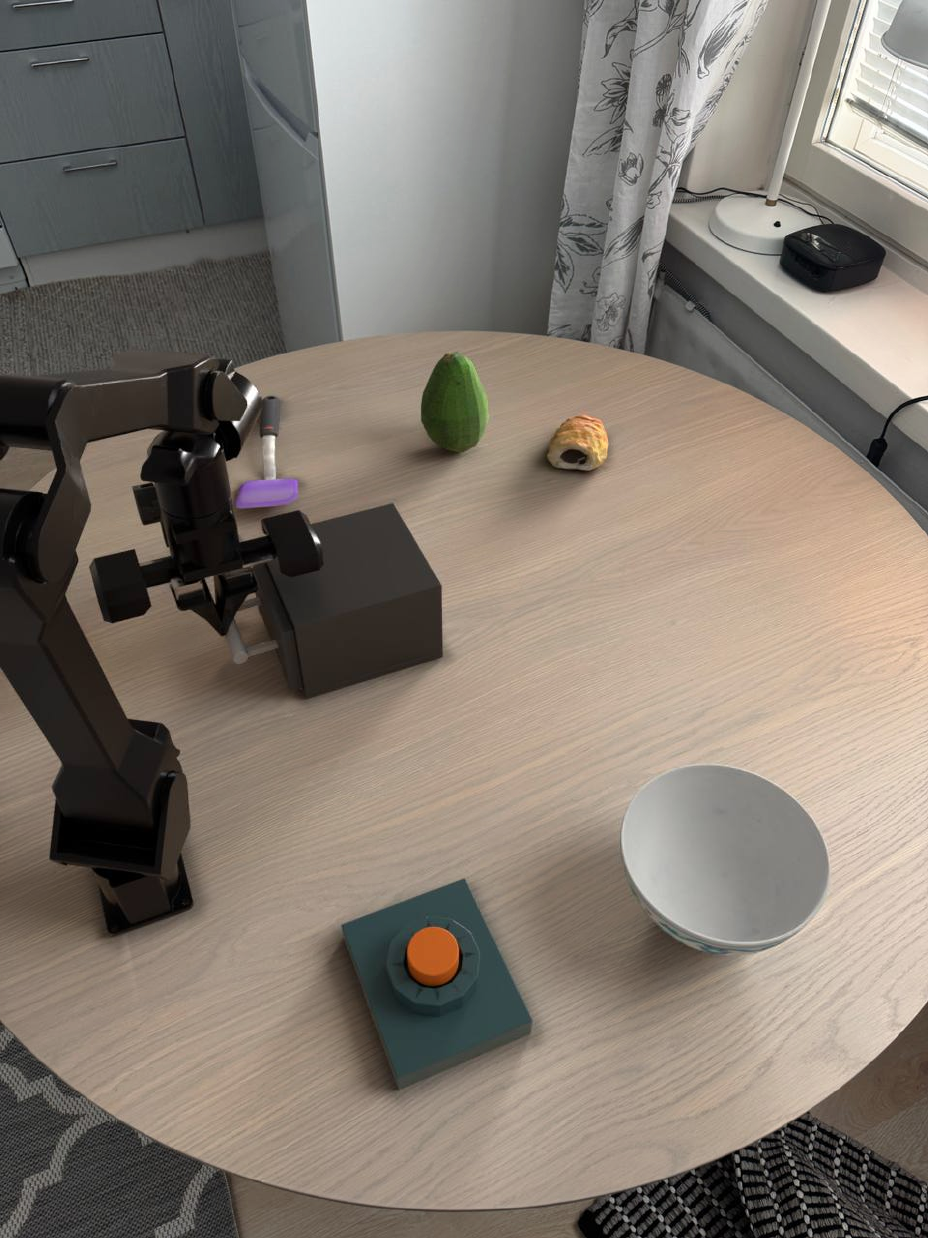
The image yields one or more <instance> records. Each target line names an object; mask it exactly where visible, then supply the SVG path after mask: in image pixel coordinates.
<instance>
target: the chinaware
mask: <svg viewBox="0 0 928 1238" xmlns="http://www.w3.org/2000/svg"><path fill="white" fill-rule="evenodd" d="M619 831H620V832H619V847H620V849H619V850H620V857H621V862H622V866H623V871H624V874H625V877H626V880H627V882H628V885H629V887H630V890H631V892H632V894H633V895H634V898H635V900H636V901H637V902H638V904H639V905H640V907H641V908H642V910H643V911H644V912H645V914H646V915H647V916H648V917H649V919H650V920H651V921H652V922H653V923H654V924H655V925H656V926H657V927H659V929H660V930H662V931H663V932H664V933H665V934H667V935H669V936H670V937H671V938H673V939H674V940H676V941H678V942H679V943H681V944H684V945H686V946H688V947H690V948H693V949H695V950H698V951H701V952H704V953H709V954H713V955H720V956H745V955H752V954H757V953H760V952H764V951H766V950H770V949H772V948H775V947H777V946H779V945H781V944H783V943H785V942H786V941H788V940H790V939H791V938H793V937H794V936H796V935H797V934H798V933H799V932H801V931H802V930H803V929H805V927H806V926H807V925H809V923H811V922H812V921H813V919H815V917H816V916H817V914H818V913H819V912H820V910H821V909H822V907H823V905H824V903H825V902H826V898H827V896H828V893H829V889H830V885H831V877H832V868H831V867H832V866H831V857H830V852H829V849H828V846H827V843H826V840H825V838H824V835H823V833H822V831H821V829H820V827H819V825H818V824H817V822H816V821H815V819H814V818H813V816H812V815H811V814H810V812H809V811H808V810H807V809H806V808H805V807H804V806H803V804H802V803H801V802H799V800H797V798H795V797H794V796H793V795H792V794H790V792H788V791H787V790H785V789H784V788H783V787H781V786H779V785H778V783H776V782H773V781H771V780H770V779H768V778H766V777H765V776H762V775H760V774H758V773H755V772H753V771H750V770H747V769H744V768H741V767H736V766H731V765H726V764H720V763H694V764H688V765H687V764H686V765H682V766H678V767H675V768H671V769H669V770H667V771H664V772H661V773H660V774H658V775H656V776H654V777H653V778H651V779H650V780H649V781H647V782H646V783H645V784H644V785H642V786H641V788H639V790H638V791H636V793H635V794H634V796H633V797H632V798H631V800H630V802H628V805H627V807H626V809H625V812H624V813H623V817H622V821H621V824H620V830H619Z"/></svg>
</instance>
